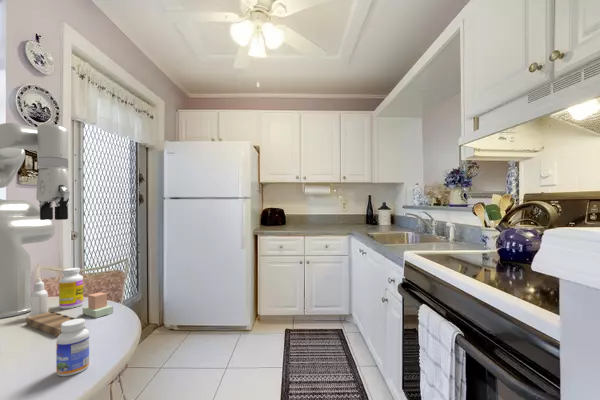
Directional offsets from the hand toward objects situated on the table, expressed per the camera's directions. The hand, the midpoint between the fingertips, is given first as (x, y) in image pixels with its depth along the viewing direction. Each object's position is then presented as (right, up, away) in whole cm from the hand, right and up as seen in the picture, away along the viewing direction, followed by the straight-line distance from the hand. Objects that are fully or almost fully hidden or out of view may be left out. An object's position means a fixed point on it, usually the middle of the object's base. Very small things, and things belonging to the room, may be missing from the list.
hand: (53, 219), depth 93 cm
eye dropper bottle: (-4, -31, 0) cm, 31 cm away
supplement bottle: (-2, -31, +10) cm, 33 cm away
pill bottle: (+30, -29, -32) cm, 53 cm away
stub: (+13, -30, +2) cm, 32 cm away
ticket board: (+7, -30, -8) cm, 32 cm away
